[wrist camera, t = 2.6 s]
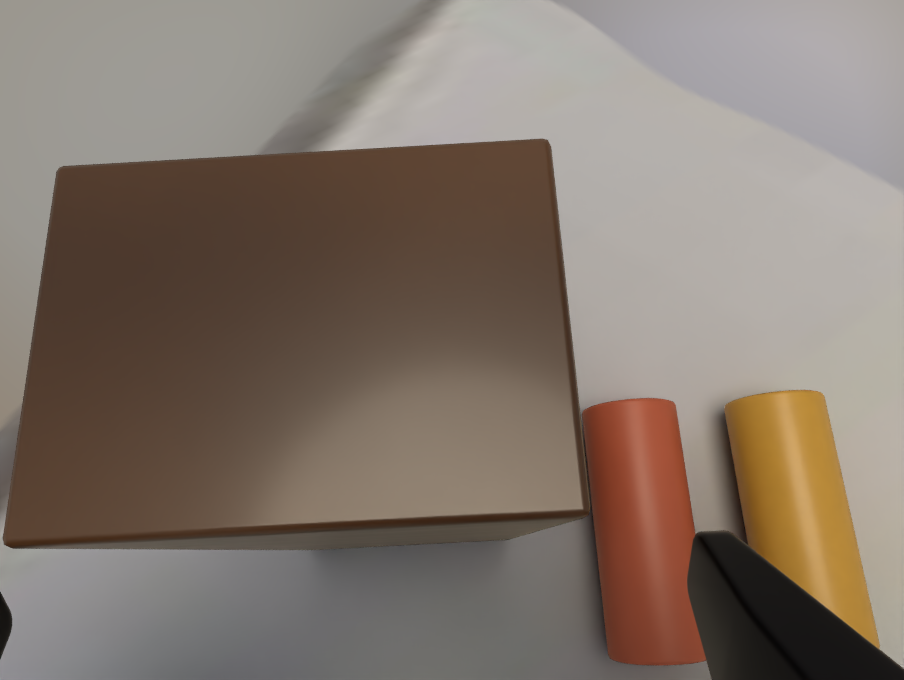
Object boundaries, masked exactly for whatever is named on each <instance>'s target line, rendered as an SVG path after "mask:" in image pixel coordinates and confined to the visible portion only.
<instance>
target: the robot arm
mask: <svg viewBox="0 0 904 680" xmlns="http://www.w3.org/2000/svg"><path fill="white" fill-rule="evenodd" d="M687 589H688V595H689V599H690V603H691V606H692V610H693V614H694V617H695V621H696V624H697V628H698V632H699V635H700V639H701V642H702V646H703V650H704V653H705V657H706V660H707V664H708V668H709V671H710V675H711V678H712V680H904V669H903V668H902V667H901V666H900V665H898V664H897V663H896V662H895V661H893V660H892V659H891V658H890V657H888V656H887V655H886V654H885V653H883V652H882V651H881V650H879V649H878V648H877V647H876V646H874V645H873V644H872V643H871V642H869V641H868V640H867V639H866V638H864V637H863V636H862V635H861V634H859V633H858V632H857V631H855V630H854V629H853V628H852V627H850V626H849V625H848V624H847V623H845V622H844V621H843V620H842V619H840V618H839V617H838V616H837V615H835V614H834V613H833V612H832V611H830V610H829V609H828V608H826V607H825V606H824V605H823V604H821V603H820V602H819V601H818V600H816V599H815V598H814V597H813V596H811V595H810V594H809V593H808V592H806V591H805V590H804V589H803V588H801V587H800V586H799V585H797V584H796V583H795V582H794V581H792V580H791V579H790V578H789V577H787V576H786V575H785V574H784V573H782V572H781V571H780V570H779V569H777V568H776V567H775V566H773V565H772V564H771V563H770V562H768V561H767V560H766V559H765V558H763V557H762V556H761V555H760V554H758V553H757V552H756V551H755V550H753V549H752V548H751V547H750V546H748V545H747V544H746V543H744V542H743V541H742V540H741V539H739V538H738V537H737V536H736V535H734V534H733V533H731V532H729V531H724V530H723V531H704V532H699V533H697V534H696V535H695V537H694V539H693V543H692V550H691V556H690V562H689V569H688V575H687ZM11 628H12V615H11V612H10V609H9V607H8V606H7V604H6V602H5V600H4V598H3V596H2V594H1V592H0V659H1V656H2V654H3V651H4V648H5V646H6V643H7V641H8V638H9V636H10V633H11Z"/></svg>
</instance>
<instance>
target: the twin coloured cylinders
mask: <svg viewBox="0 0 904 680" xmlns="http://www.w3.org/2000/svg"><path fill="white" fill-rule="evenodd" d="M724 410H725V416H726V421H727V427H728V433H729V439H730V444H731V450H732V456H733V461H734V467H735V473H736V478H737V484H738V490H739V495H740V501H741V507H742V513H743V518H744V524H745V530H746V535H747V541H748V546H750V547H751V548H752V549H753V550H755V551H756V552H757V553H758V554H760V555H761V556H762V557H763V558H765V559H766V560H767V561H768V562H770V563H771V564H772V565H773V566H775V567H776V568H777V569H779V570H780V571H781V572H782V573H784V574H785V575H786V576H787V577H789V578H790V579H791V580H792V581H794V582H795V583H796V584H797V585H799V586H800V587H801V588H803V589H804V590H805V591H806V592H808V593H809V594H810V595H811V596H813V597H814V598H815V599H816V600H818V601H819V602H820V603H821V604H823V605H824V606H825V607H826V608H828V609H829V610H830V611H832V612H833V613H834V614H835V615H837V616H838V617H839V618H840V619H842V620H843V621H844V622H845V623H847V624H848V625H849V626H850V627H852V628H853V629H854V630H855V631H857V632H858V633H859V634H861V635H862V636H863V637H864V638H866V639H867V640H868V641H869V642H871V643H872V644H873V645H874V646H876V647H877V648H878V649H879V648H880V644H879V639H878V635H877V630H876V626H875V621H874V617H873V612H872V608H871V603H870V599H869V594H868V590H867V585H866V581H865V576H864V572H863V567H862V563H861V558H860V554H859V549H858V545H857V540H856V536H855V531H854V527H853V522H852V518H851V513H850V509H849V504H848V500H847V496H846V491H845V487H844V482H843V478H842V473H841V469H840V464H839V460H838V455H837V451H836V446H835V442H834V437H833V433H832V428H831V424H830V419H829V415H828V410H827V406H826V401H825V397H824V395H823V394H822V393H821V392H818V391H812V390H788V391H777V392H769V393H762V394H757V395H752V396H747V397H743V398H740V399H737V400H734V401H732V402H730V403H728V404H726V405H725V408H724ZM582 420H583V429H584V438H585V447H586V457H587V466H588V475H589V484H590V493H591V502H592V511H593V520H594V529H595V538H596V547H597V556H598V566H599V575H600V584H601V593H602V602H603V611H604V620H605V629H606V638H607V647H608V655H609V657H610V659H612V660H615V661H617V662H621V663H627V664H636V665H682V664H691V663H698V662H703V661H706V657H705V653H704V650H703V646H702V642H701V639H700V635H699V632H698V628H697V624H696V621H695V617H694V614H693V610H692V606H691V603H690V599H689V595H688V589H687V575H688V569H689V562H690V556H691V550H692V543H693V539H694V537H695V528H694V522H693V515H692V509H691V502H690V496H689V489H688V483H687V476H686V470H685V463H684V457H683V450H682V444H681V437H680V431H679V424H678V418H677V411H676V405H675V404H674V402H672V401H669V400H665V399H657V398H639V399H626V400H618V401H611V402H606V403H602V404H598V405H594V406H591V407H589V408H587V409H585V410H584V411H583V413H582Z"/></svg>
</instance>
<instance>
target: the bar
mask: <svg viewBox="0 0 904 680" xmlns="http://www.w3.org/2000/svg"><path fill="white" fill-rule="evenodd" d="M590 508H591V507H590V497H589V488H588V479H587V470H586V461H585V452H584V443H583V433H582V424H581V415H580V406H579V397H578V388H577V379H576V370H575V360H574V351H573V342H572V333H571V324H570V315H569V306H568V296H567V287H566V278H565V269H564V260H563V251H562V242H561V232H560V223H559V214H558V205H557V196H556V187H555V178H554V169H553V159H552V150H551V146H550V144H549V142H548V140H545V139H530V140H512V141H495V142H477V143H460V144H442V145H425V146H408V147H390V148H373V149H355V150H338V151H320V152H303V153H285V154H268V155H250V156H233V157H217V158H216V157H215V158H198V159H181V160H164V161H147V162H128V163H112V164H93V165H76V166H63V167H60V168H59V169H58V170H57V172H56V179H55V186H54V193H53V200H52V206H51V213H50V220H49V227H48V234H47V240H46V247H45V254H44V261H43V268H42V274H41V281H40V288H39V295H38V302H37V309H36V315H35V322H34V329H33V336H32V343H31V350H30V356H29V363H28V370H27V377H26V384H25V390H24V397H23V404H22V411H21V418H20V425H19V431H18V438H17V445H16V452H15V459H14V466H13V472H12V479H11V486H10V493H9V500H8V507H7V513H6V520H5V527H4V534H3V541H4V545H6V546H8V547H11V548H13V549H194V550H323V549H342V548H361V547H381V546H400V545H419V544H438V543H457V542H476V541H495V540H509V539H512V538H516V537H519V536H523V535H526V534H529V533H533V532H536V531H540V530H543V529H547V528H550V527H554V526H557V525H561V524H564V523H568V522H571V521H575V520H578V519H582V518H584V517H586V516H588V515H589V511H590Z"/></svg>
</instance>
